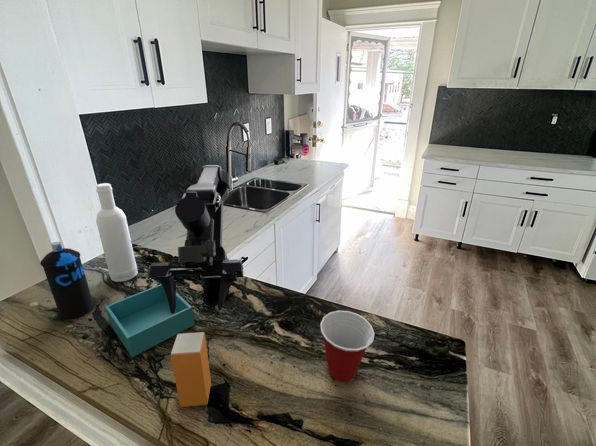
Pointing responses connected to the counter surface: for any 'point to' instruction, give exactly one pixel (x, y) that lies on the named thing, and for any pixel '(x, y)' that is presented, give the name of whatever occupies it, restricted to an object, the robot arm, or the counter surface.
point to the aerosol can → (67, 282)
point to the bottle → (115, 237)
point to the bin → (148, 319)
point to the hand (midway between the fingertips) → (196, 312)
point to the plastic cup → (345, 342)
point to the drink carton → (191, 369)
